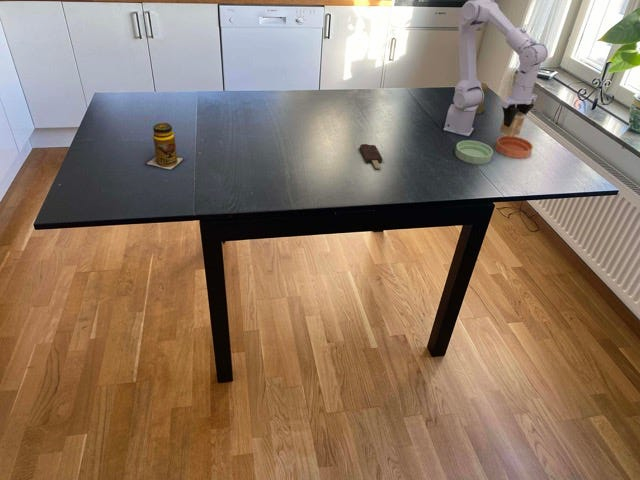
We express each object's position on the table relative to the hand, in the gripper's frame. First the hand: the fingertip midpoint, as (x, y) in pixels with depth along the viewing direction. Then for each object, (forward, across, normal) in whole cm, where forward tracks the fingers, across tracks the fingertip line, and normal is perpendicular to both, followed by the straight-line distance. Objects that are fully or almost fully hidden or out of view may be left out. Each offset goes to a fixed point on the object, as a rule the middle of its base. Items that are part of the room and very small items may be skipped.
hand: (511, 124), depth 167 cm
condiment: (+11, -104, +43) cm, 113 cm away
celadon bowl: (+10, -12, +3) cm, 16 cm away
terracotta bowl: (+10, +4, -1) cm, 11 cm away
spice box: (+3, 0, 0) cm, 3 cm away
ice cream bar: (+11, -44, +16) cm, 48 cm away
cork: (+11, +18, +31) cm, 37 cm away
